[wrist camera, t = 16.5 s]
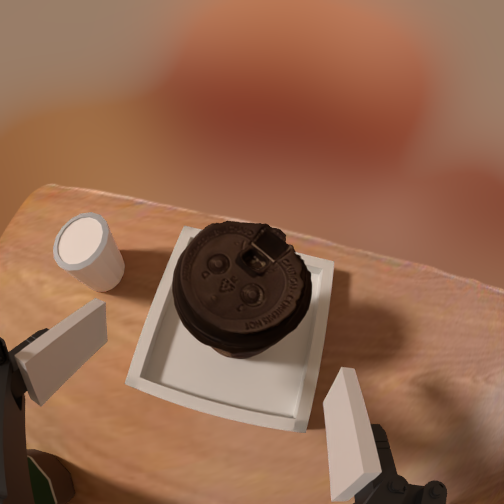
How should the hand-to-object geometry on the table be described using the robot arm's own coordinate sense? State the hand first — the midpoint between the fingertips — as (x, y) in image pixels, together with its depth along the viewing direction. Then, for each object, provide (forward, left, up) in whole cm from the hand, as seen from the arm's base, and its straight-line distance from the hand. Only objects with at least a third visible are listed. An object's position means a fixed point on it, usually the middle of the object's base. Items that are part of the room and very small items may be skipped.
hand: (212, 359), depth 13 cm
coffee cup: (0, -5, -12) cm, 13 cm away
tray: (0, -5, -13) cm, 14 cm away
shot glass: (+17, -7, -13) cm, 23 cm away
